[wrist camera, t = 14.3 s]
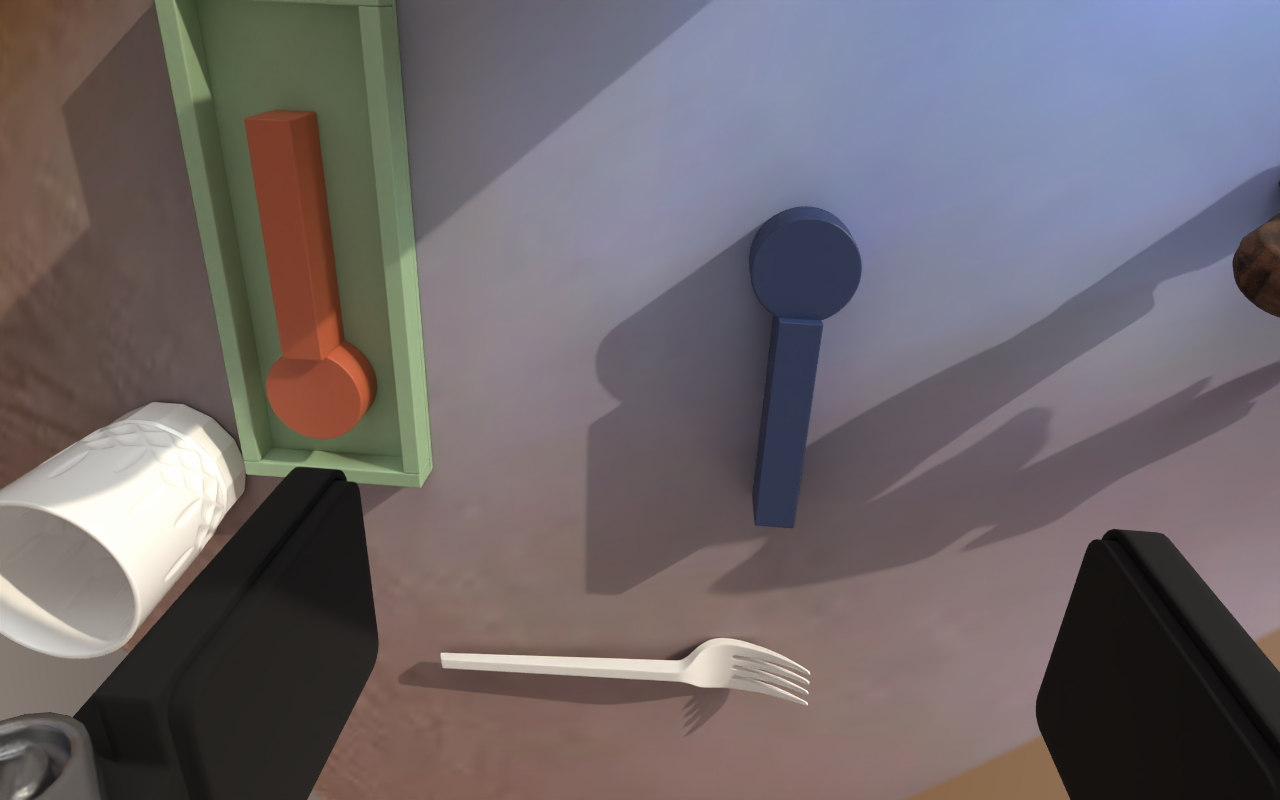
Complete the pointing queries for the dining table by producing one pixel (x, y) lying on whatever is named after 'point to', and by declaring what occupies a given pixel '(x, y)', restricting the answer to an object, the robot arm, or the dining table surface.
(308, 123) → the terracotta spoon
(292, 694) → the robot arm
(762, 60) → the dining table surface
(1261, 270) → the orange headphones
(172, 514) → the white cup
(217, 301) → the tray
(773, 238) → the blue spoon
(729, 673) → the fork
